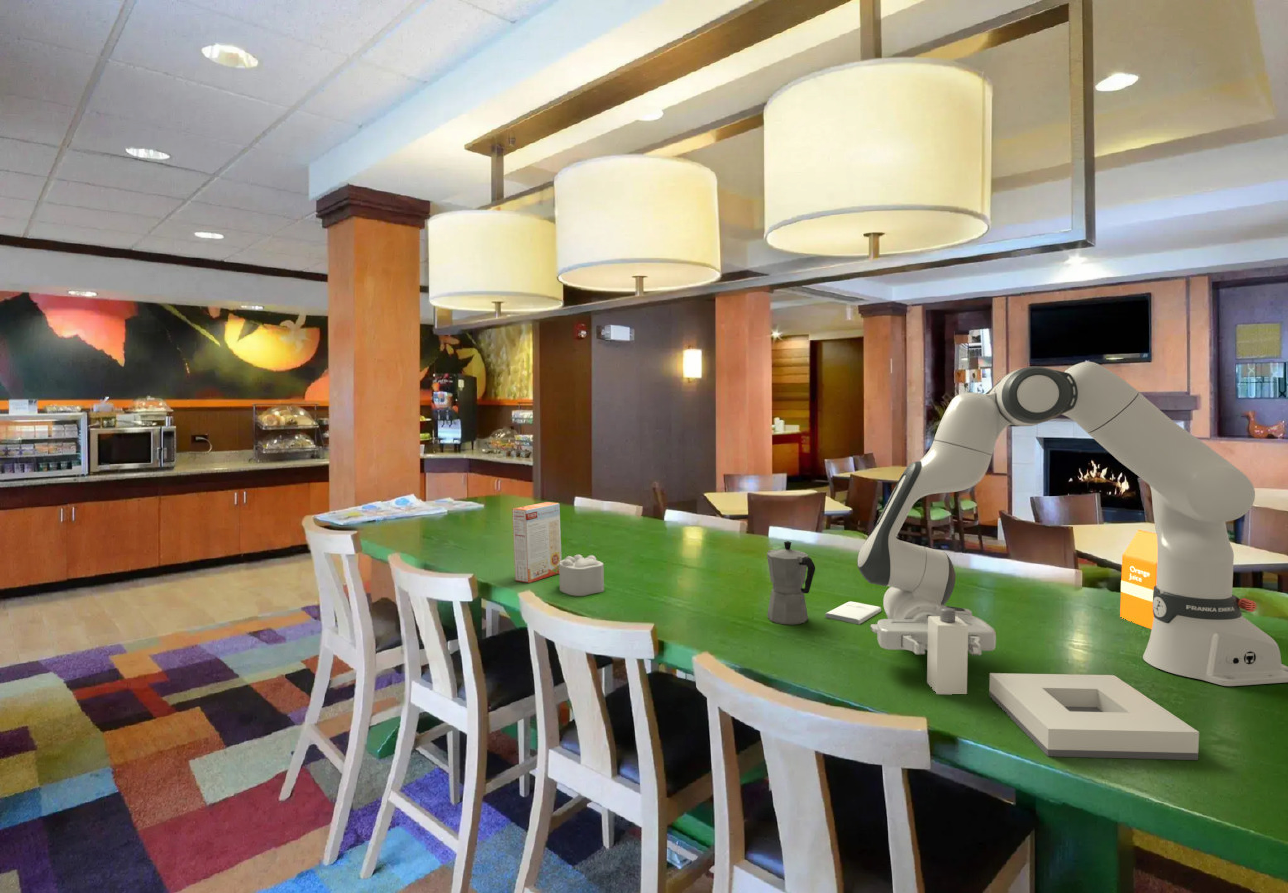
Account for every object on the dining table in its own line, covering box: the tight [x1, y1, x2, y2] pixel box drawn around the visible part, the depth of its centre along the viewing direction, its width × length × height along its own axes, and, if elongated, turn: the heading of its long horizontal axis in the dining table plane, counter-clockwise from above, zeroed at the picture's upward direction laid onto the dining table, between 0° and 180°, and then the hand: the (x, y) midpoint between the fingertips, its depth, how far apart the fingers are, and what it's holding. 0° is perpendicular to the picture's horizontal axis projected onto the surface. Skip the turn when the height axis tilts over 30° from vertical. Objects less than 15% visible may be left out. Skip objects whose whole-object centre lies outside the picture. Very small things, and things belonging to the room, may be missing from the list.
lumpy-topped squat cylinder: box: [558, 554, 605, 597], centre depth 190 cm, size 10×13×9 cm
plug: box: [926, 607, 969, 695], centre depth 122 cm, size 5×5×14 cm
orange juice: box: [1119, 529, 1157, 630], centre depth 155 cm, size 8×9×20 cm
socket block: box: [988, 672, 1200, 761], centre depth 108 cm, size 20×20×4 cm
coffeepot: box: [766, 540, 816, 626], centre depth 160 cm, size 15×9×18 cm, turn 28°
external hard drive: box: [824, 601, 882, 625], centre depth 164 cm, size 2×8×12 cm
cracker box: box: [511, 501, 562, 584], centre depth 202 cm, size 14×6×21 cm, turn 144°
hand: (948, 650), depth 121 cm, fingers open, 8 cm apart
